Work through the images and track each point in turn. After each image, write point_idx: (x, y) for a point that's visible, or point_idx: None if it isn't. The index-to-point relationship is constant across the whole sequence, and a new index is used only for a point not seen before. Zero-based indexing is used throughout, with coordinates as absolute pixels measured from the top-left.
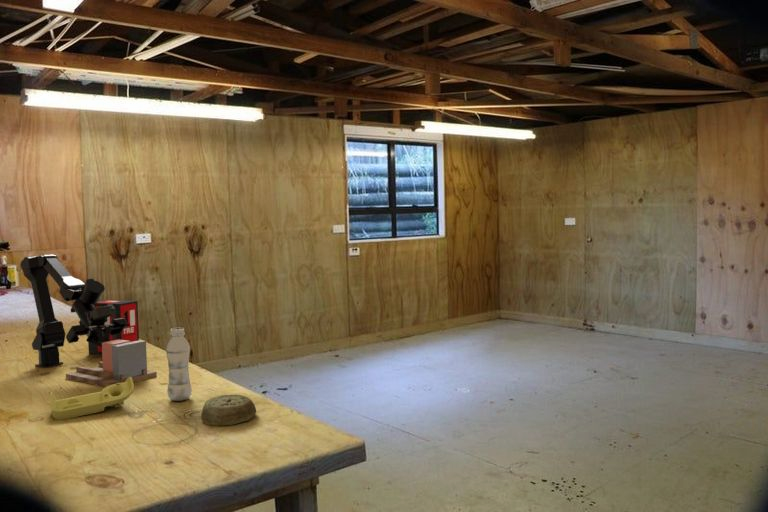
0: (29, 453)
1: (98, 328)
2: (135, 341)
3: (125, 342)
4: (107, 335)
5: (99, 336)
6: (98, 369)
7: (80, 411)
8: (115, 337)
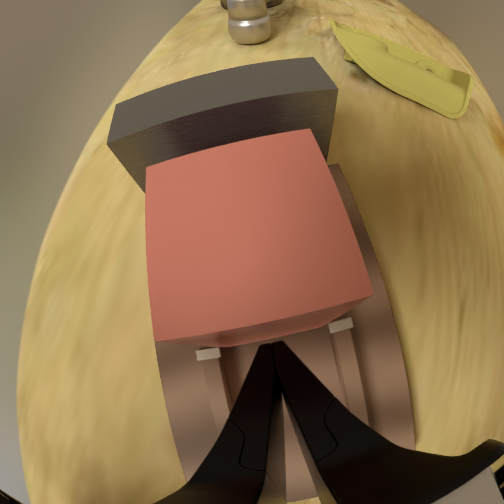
0: (443, 42)
1: (425, 500)
2: (151, 117)
3: (193, 157)
4: (237, 460)
5: (369, 436)
6: (287, 458)
7: (414, 59)
8: None
